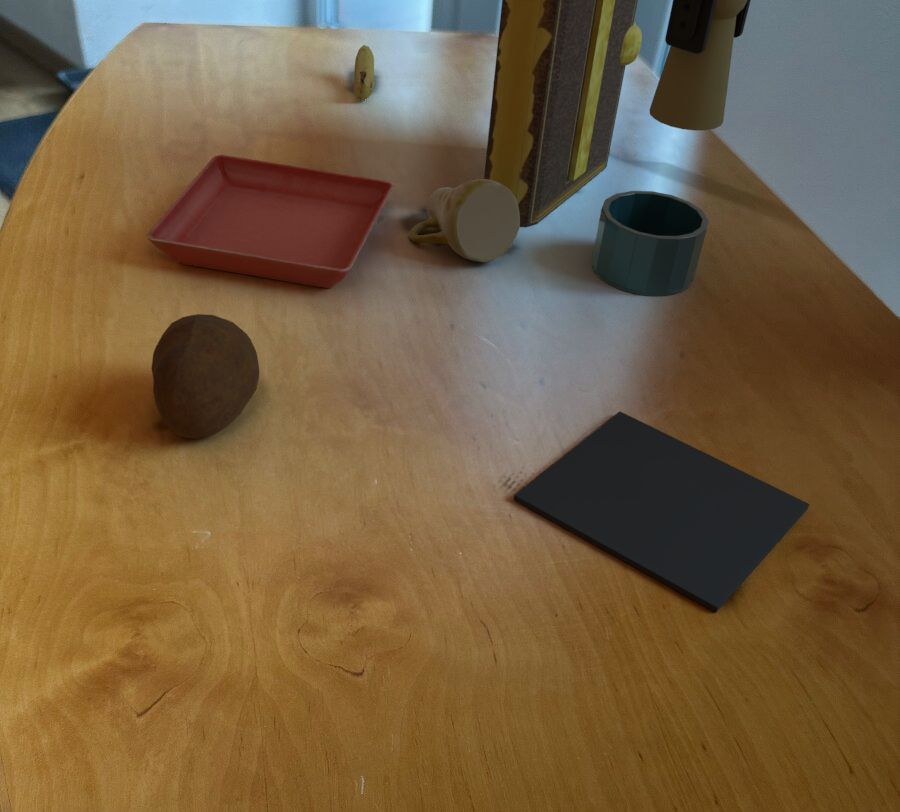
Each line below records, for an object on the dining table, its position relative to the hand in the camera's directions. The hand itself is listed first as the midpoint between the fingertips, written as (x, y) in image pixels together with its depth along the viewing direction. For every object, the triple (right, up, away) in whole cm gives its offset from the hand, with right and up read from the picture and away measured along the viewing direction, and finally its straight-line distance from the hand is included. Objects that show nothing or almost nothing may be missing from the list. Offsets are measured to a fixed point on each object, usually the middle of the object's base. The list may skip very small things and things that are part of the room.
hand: (704, 37), depth 79 cm
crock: (-2, -12, +17) cm, 21 cm away
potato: (-37, -30, -4) cm, 48 cm away
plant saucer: (-36, -10, +16) cm, 40 cm away
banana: (-30, +17, +43) cm, 56 cm away
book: (-9, 0, +29) cm, 31 cm away
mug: (-19, -10, +18) cm, 28 cm away
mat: (-5, -37, -7) cm, 38 cm away
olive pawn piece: (0, -4, +4) cm, 6 cm away
